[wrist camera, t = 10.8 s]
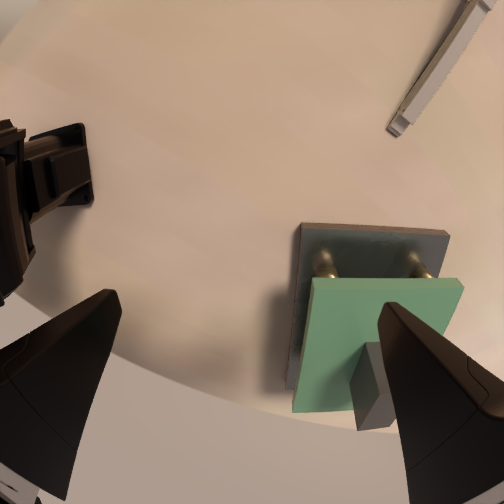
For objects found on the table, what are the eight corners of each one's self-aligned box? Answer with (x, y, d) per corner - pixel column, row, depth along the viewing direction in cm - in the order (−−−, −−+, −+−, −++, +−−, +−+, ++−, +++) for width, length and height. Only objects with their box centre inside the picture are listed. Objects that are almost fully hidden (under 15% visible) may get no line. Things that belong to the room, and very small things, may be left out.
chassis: (285, 381, 28) (285, 412, 25) (301, 222, 20) (307, 249, 16) (388, 376, 27) (396, 404, 24) (444, 230, 19) (469, 254, 15)
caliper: (471, -30, 7) (511, -46, 2) (480, -21, 7) (521, -35, 2) (384, 127, 16) (430, 138, 11) (396, 137, 16) (444, 152, 11)
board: (292, 402, 24) (292, 455, 19) (312, 277, 17) (324, 346, 12) (399, 394, 23) (412, 441, 18) (456, 277, 16) (496, 329, 11)
